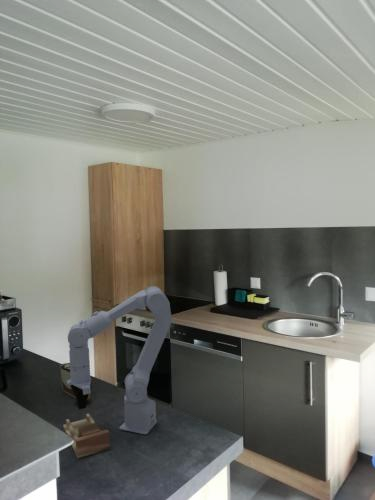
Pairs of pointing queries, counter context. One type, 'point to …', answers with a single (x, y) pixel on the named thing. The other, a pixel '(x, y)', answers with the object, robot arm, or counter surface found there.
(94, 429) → the block
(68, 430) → the track
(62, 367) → the food container
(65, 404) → the counter surface
